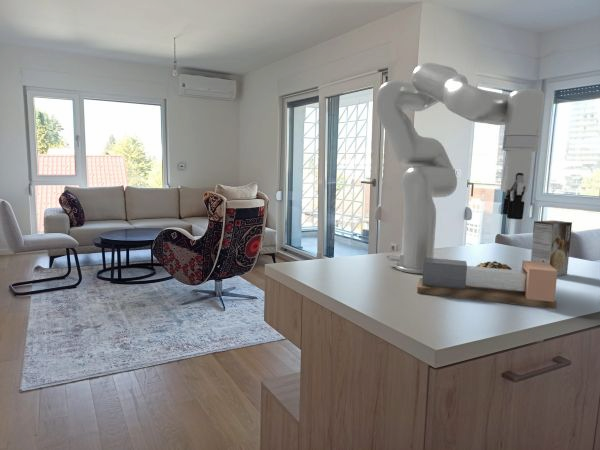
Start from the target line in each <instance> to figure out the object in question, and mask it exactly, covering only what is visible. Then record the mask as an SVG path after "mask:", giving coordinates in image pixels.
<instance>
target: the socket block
mask: <svg viewBox="0 0 600 450" xmlns="http://www.w3.org/2000/svg"><path fill="white" fill-rule="evenodd" d="M521 262H522V263H521V270H520V271H526V272H527V280H526V291H525V297H526V298H527V299H532V300H542V301H551V302H554V301H555V300H556V291H557V290H556V289H557V280H558V276H557V272H558V271H557V270H556V269H555V268H553V267H552V266H551V265H550V264H549V263H547V262H535V261H531V260H523V259H522V261H521Z"/></svg>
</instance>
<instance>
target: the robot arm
mask: <svg viewBox="0 0 600 450" xmlns="http://www.w3.org/2000/svg"><path fill="white" fill-rule="evenodd" d="M438 103H441V104H443V105H444V106H445V107H446V109H447V110H449V111H450V112H452V113H453V114H455V115H458V116H460V117H461V118H463V119H466V120H468V121H471V122H474V123H478V124H479V123H480V124H488V125H494V126H504V130H503V131H504V132H503V140H502V150H501V151H506V153H505V158H504V165H503V171H502V180H501V184H500V185H501V186H500V190H501V191H502V192H504V193H505V195H504V196H505V197H504V200H503V209H502V214H503V215H506V218H507V219H508V220H522V219H523V218H524V217H523V216H524V211H525V210H524V208H525V194H526V193H527V191H528V189H529V183H530V176H531V168H532V160H533V159H532V158H533V152H538V151H539V145H540V137H541V136H540V135H541V129H542V121H543V120H542V119H543V114H544V113H543V112H544V104H545V94H544V91H542V90H541V89H537V88H536V89H535V88H523V89H516V90H512V91H511V92H510V93H509V94H508V93H507V94H506V93H501V92H496V91H491V90H487V89H486V90H485V89H482V88H479V87H476V86H473V85H471V84H469V81H468V78H467V77H466V76H465V75H463V74H461V73H459V72H458V71H457V70H456V69H454V68H453V67H451V66H448V65H443V64H438V63H435V62H434V63H433V62H424V63H421V64H419V65H418V66H416V67H415V68H414V70H413V72H412V74H411V82H410V81H403V80H390V81H386V82H384V83H383V84H382V85H381V86H380V87H379V89H378V91H377V93H376V98H375V110H376V114H377V117H378V119H379V121H380V123H381V125H382V127H383V129H384V131H385V133H386V135H387V138H388V140H389V143H390V145H391V148H392V150H393V152H394V155H395V158H396V160H397V162H398V164H400V165H401V166H403V167H407V168H408V169H407V170H405V172H404V173H403V175H402V179H401V188H402V194H403V195H402V197H403V222H402V239H401V252H400V253H397V254H393V253H392V254H391V253H387V254H386V260H387V261H390V262H396V264H395V269H396V270H398V271H401V272H404V273H410V274H419V275H420V274H421V275H423V265H424V259H425V258H435V257H434V255H435V240H436V227H437V225H436V224H437V208H436V205H435V203H434V199H433V198H447V197H449V196H451V195H452V194H453V193H454V192H455V191H456V189H457V185H458V179H457V178H458V177H457V174H456V172H455V171H456V170H455V169H454V166H453V165H452V162H451V160H450V158H449V156H448V154H447V151H446V149H445V147H444V145H443V144H442V143H441V142H440V141H439V140H437V139H435V138H434V137H426V136H422V135H419V133H418V132H417V130H416V128H415V126H414V123H413V121H412V120H411V118H410V117H409V116H408V115H407V114H406V113H405V112H404V111H410V112H423V111H426V110H428V109H429V108H431V107H433V106H435V105H436V104H438Z"/></svg>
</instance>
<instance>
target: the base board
mask: <svg viewBox="0 0 600 450" xmlns="http://www.w3.org/2000/svg"><path fill="white" fill-rule="evenodd" d="M422 281H423V277H420V278H419V281H418V284H417V287H416V289H417V291H416V293H417V294H424V295H431V296H432V295H433V296H441V297H448V298H459V299H467V300H476V301H484V302H485V301H487V302H494V303H501V302H503V303H504V304H510V303H513V304H512V305H518V306H519V305H520V306H521V305H522V306H530V307H540V308H545V309H546V308H547V309H548V308H549V309H556V310H557V305H558V302H557V301H556V299H555V301H554V302H551V301H542V300H532V299H527V298H526V297H525V291H518V290H508V289H498V288H489V287H479V286H469V285H466V286H465V290H459V289H450V288H441V287H431V286H422ZM503 303H502V304H503Z"/></svg>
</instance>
